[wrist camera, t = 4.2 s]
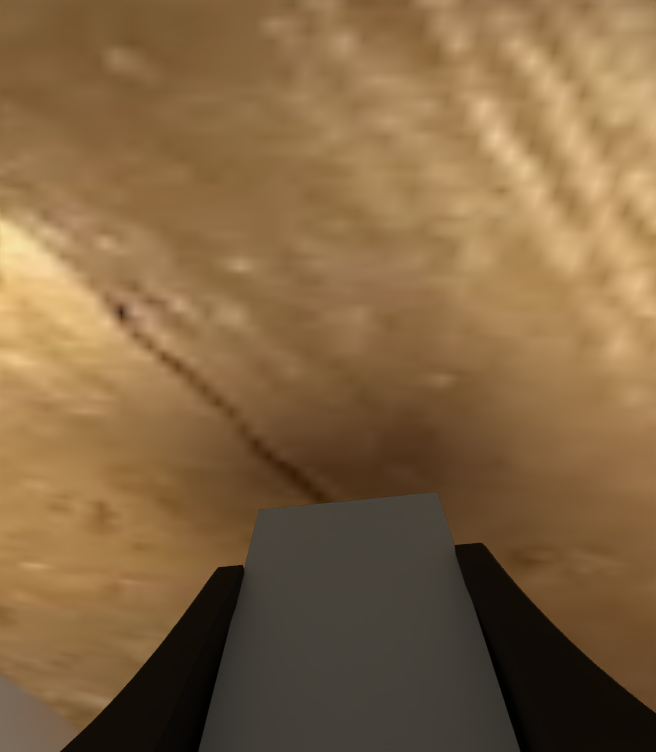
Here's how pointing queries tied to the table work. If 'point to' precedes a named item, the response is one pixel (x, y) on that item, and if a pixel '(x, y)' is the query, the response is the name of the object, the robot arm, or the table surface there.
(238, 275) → the table surface
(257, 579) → the domino
